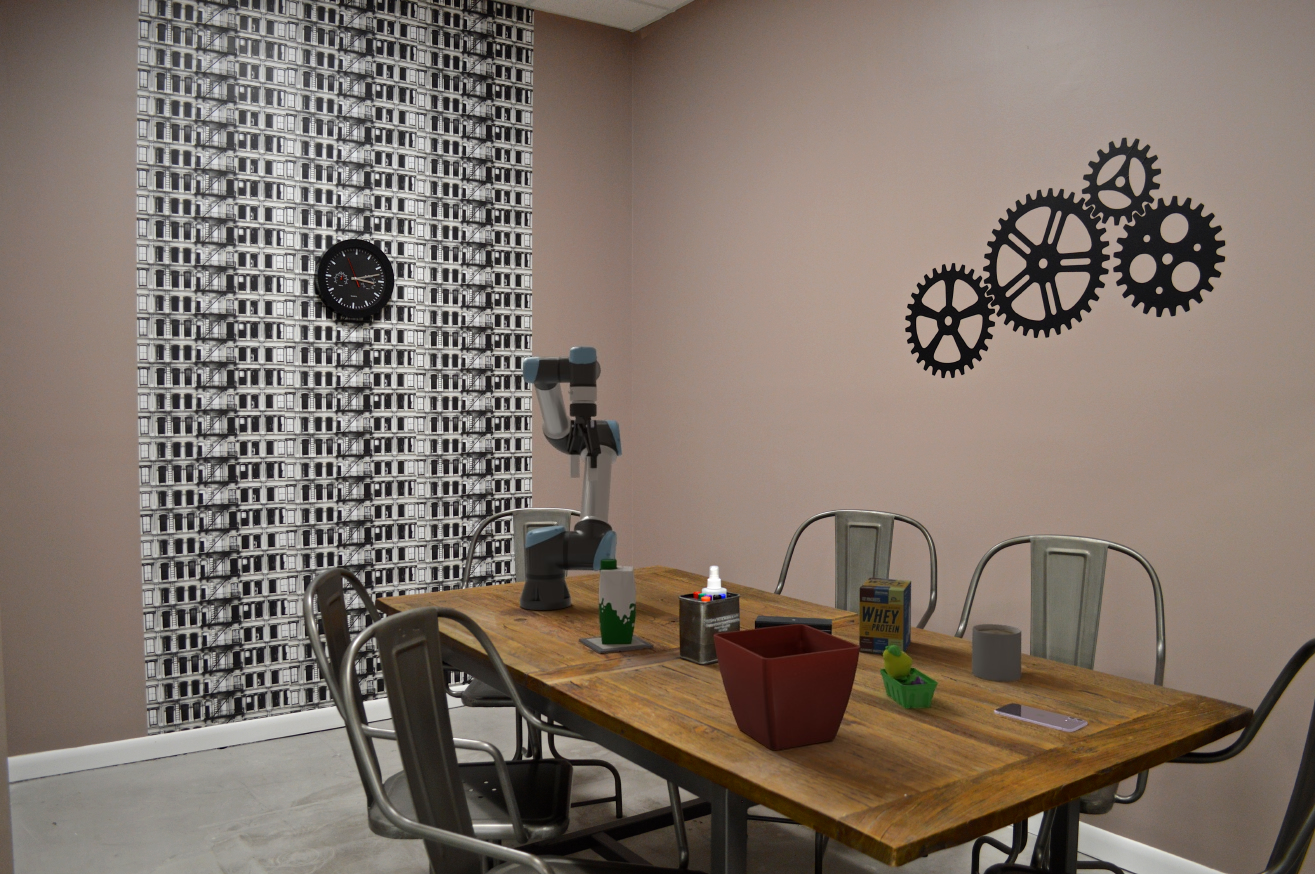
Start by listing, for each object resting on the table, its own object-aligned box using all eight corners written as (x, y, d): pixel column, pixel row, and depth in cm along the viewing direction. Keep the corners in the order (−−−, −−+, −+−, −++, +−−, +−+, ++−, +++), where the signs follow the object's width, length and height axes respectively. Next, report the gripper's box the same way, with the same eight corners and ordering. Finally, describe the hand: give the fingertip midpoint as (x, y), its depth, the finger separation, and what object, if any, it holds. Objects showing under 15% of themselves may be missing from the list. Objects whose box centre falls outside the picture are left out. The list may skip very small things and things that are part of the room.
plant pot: (764, 761, 149) (765, 657, 149) (711, 725, 166) (711, 632, 166) (863, 744, 157) (863, 645, 156) (801, 712, 174) (802, 623, 174)
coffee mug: (997, 683, 193) (997, 636, 192) (962, 672, 202) (962, 626, 201) (1043, 675, 199) (1043, 629, 198) (1006, 664, 207) (1007, 620, 207)
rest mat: (578, 641, 230) (578, 638, 230) (630, 635, 236) (630, 632, 236) (599, 653, 217) (599, 650, 217) (653, 647, 224) (653, 644, 224)
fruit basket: (939, 709, 176) (940, 650, 176) (895, 711, 174) (896, 652, 174) (913, 691, 187) (913, 636, 187) (872, 694, 186) (872, 638, 185)
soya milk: (600, 636, 232) (599, 557, 231) (636, 636, 232) (636, 557, 231) (598, 645, 223) (597, 562, 223) (635, 645, 223) (635, 562, 223)
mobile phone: (1011, 700, 179) (1089, 719, 168) (1011, 705, 179) (1089, 725, 168) (991, 709, 174) (1070, 729, 162) (991, 714, 174) (1070, 734, 163)
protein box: (858, 652, 219) (858, 587, 219) (869, 638, 233) (869, 577, 233) (903, 656, 215) (904, 590, 215) (911, 641, 229) (912, 579, 229)
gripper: (555, 403, 266) (555, 476, 266) (586, 401, 243) (587, 482, 244) (579, 403, 269) (579, 476, 270) (613, 401, 247) (613, 481, 247)
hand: (583, 479), depth 257 cm, fingers open, 13 cm apart
